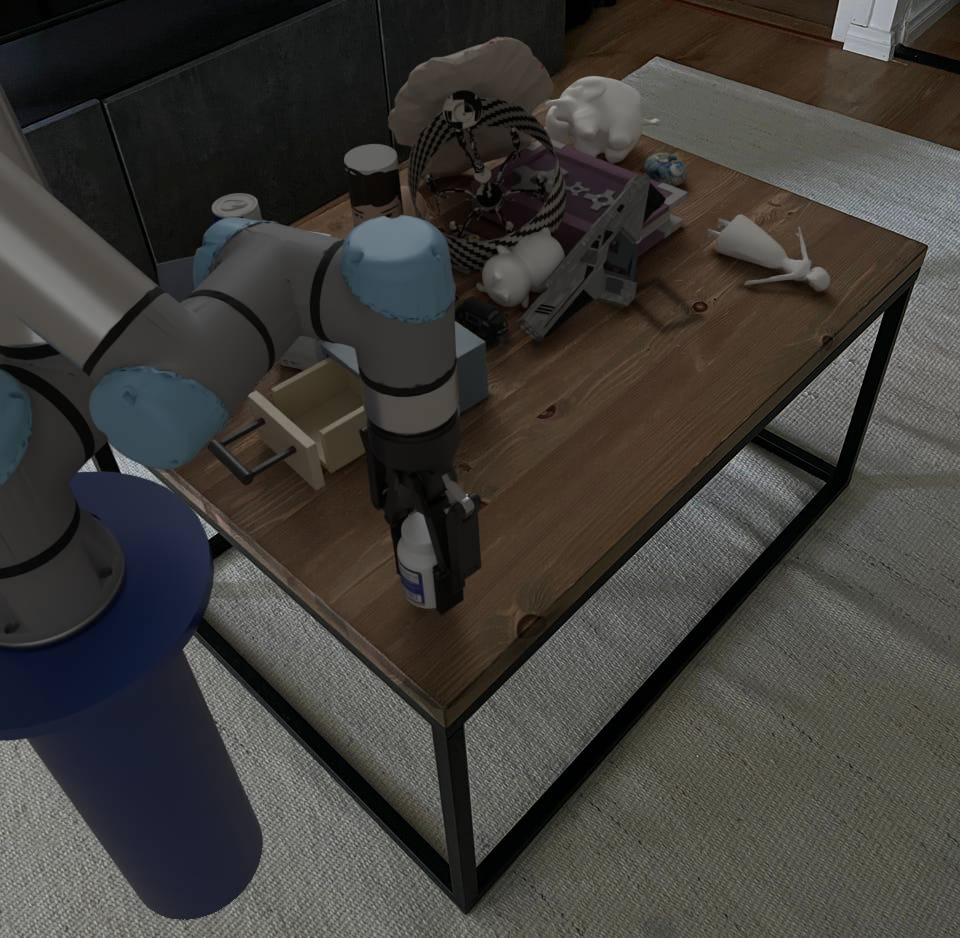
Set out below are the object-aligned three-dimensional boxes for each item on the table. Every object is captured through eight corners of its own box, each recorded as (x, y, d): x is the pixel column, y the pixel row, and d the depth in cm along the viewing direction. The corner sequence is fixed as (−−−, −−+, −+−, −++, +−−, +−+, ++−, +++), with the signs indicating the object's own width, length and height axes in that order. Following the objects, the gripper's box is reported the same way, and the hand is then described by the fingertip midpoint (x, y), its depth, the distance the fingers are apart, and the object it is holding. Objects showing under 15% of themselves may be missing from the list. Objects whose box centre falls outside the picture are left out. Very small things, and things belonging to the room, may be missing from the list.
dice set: (460, 235, 142) (459, 223, 141) (488, 247, 140) (487, 235, 138) (436, 252, 139) (435, 240, 138) (464, 264, 137) (463, 252, 136)
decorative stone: (658, 151, 152) (637, 176, 152) (660, 137, 148) (638, 162, 148) (693, 176, 151) (672, 200, 150) (696, 162, 147) (674, 187, 146)
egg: (419, 190, 138) (399, 169, 143) (387, 218, 138) (368, 195, 144) (441, 219, 142) (421, 197, 147) (409, 246, 142) (390, 223, 148)
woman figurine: (686, 264, 137) (799, 326, 129) (685, 242, 134) (801, 304, 125) (739, 210, 140) (853, 267, 132) (740, 187, 136) (857, 244, 128)
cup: (348, 263, 138) (333, 162, 128) (378, 239, 142) (365, 139, 132) (388, 277, 136) (375, 175, 125) (417, 252, 139) (407, 151, 129)
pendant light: (417, 281, 140) (365, 198, 111) (425, 140, 142) (377, 23, 113) (564, 283, 137) (551, 199, 108) (570, 140, 140) (560, 19, 110)
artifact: (549, 118, 155) (542, -10, 125) (565, 158, 153) (562, 38, 124) (403, 171, 155) (363, 55, 126) (418, 211, 154) (380, 104, 124)
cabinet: (396, 453, 112) (388, 398, 107) (330, 398, 119) (320, 344, 113) (488, 396, 118) (485, 341, 113) (420, 347, 125) (415, 293, 119)
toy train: (496, 354, 123) (495, 320, 120) (363, 291, 134) (358, 258, 130) (515, 338, 125) (515, 304, 122) (383, 277, 136) (378, 244, 132)
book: (684, 224, 142) (687, 192, 138) (613, 276, 134) (615, 244, 130) (544, 167, 154) (544, 136, 151) (472, 211, 146) (470, 180, 143)
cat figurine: (491, 255, 122) (562, 213, 127) (447, 264, 131) (514, 225, 136) (521, 320, 124) (589, 277, 129) (475, 325, 133) (540, 284, 138)
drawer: (262, 523, 105) (250, 481, 100) (206, 466, 111) (192, 424, 106) (408, 434, 113) (403, 392, 109) (348, 386, 119) (341, 343, 115)
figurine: (540, 177, 158) (542, 115, 161) (656, 181, 157) (655, 119, 161) (544, 126, 146) (546, 60, 150) (670, 130, 146) (668, 64, 150)
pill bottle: (453, 562, 99) (448, 501, 92) (461, 605, 95) (457, 545, 89) (399, 570, 98) (391, 509, 92) (405, 614, 95) (397, 554, 88)
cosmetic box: (321, 376, 122) (300, 272, 112) (277, 366, 124) (252, 263, 113) (352, 334, 128) (334, 232, 117) (309, 325, 129) (288, 224, 119)
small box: (179, 342, 128) (153, 262, 119) (233, 330, 129) (212, 250, 121) (191, 408, 119) (164, 326, 111) (249, 394, 120) (227, 313, 112)
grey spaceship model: (568, 374, 126) (511, 318, 124) (685, 230, 134) (633, 176, 132) (576, 370, 124) (517, 314, 122) (694, 224, 132) (641, 169, 130)
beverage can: (229, 305, 133) (201, 204, 122) (264, 287, 136) (240, 186, 125) (253, 323, 130) (227, 221, 119) (288, 304, 133) (266, 203, 122)
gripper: (526, 443, 77) (524, 623, 93) (379, 332, 86) (401, 513, 103) (450, 492, 73) (462, 670, 90) (306, 371, 83) (341, 551, 100)
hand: (429, 585), depth 97 cm, fingers closed on pill bottle, 5 cm apart
